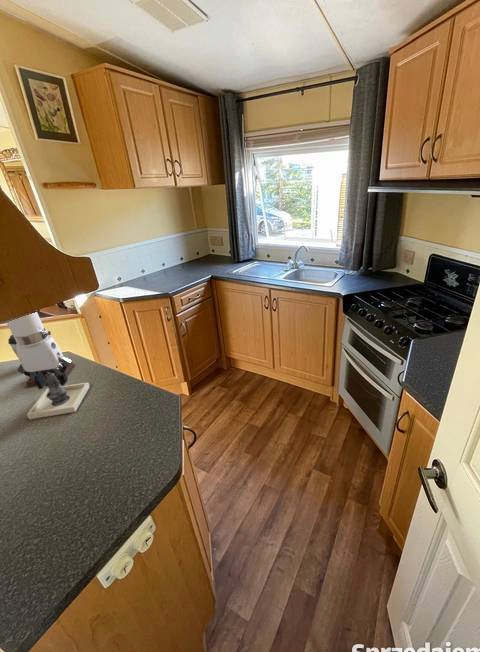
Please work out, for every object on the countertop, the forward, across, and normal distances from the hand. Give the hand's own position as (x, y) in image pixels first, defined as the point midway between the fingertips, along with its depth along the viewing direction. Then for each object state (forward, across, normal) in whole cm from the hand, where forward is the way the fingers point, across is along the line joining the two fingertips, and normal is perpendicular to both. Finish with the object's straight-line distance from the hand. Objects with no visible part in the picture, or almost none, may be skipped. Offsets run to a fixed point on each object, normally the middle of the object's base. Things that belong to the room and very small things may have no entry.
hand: (53, 384), depth 96 cm
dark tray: (+7, +11, -19) cm, 23 cm away
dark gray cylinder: (+7, +11, -19) cm, 23 cm away
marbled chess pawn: (+7, 0, 0) cm, 7 cm away
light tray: (+7, 0, 0) cm, 7 cm away
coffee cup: (+8, +22, -30) cm, 38 cm away
